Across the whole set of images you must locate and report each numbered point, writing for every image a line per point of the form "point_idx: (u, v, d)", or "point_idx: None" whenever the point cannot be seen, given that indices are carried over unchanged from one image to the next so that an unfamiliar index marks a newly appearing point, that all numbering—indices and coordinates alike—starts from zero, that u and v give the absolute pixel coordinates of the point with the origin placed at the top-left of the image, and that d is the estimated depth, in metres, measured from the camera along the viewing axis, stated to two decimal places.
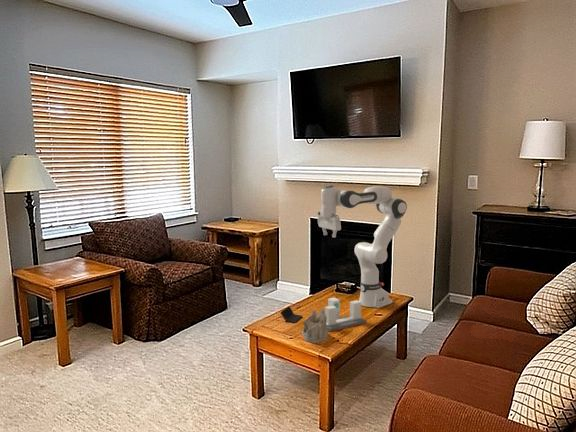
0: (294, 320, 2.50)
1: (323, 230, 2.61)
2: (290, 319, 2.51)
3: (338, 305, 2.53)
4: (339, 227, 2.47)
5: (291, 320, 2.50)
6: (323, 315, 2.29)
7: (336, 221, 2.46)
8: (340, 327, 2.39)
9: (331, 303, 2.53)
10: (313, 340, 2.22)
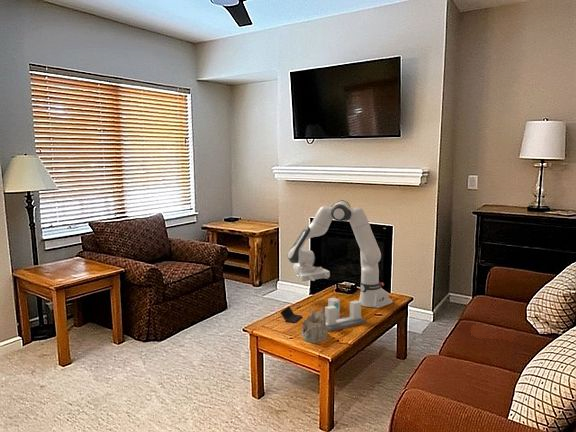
0: (294, 320, 2.50)
1: None
2: (290, 319, 2.51)
3: (338, 305, 2.53)
4: (301, 277, 2.66)
5: (291, 320, 2.50)
6: (322, 315, 2.29)
7: (299, 278, 2.70)
8: (340, 327, 2.39)
9: (331, 303, 2.53)
10: (313, 340, 2.22)
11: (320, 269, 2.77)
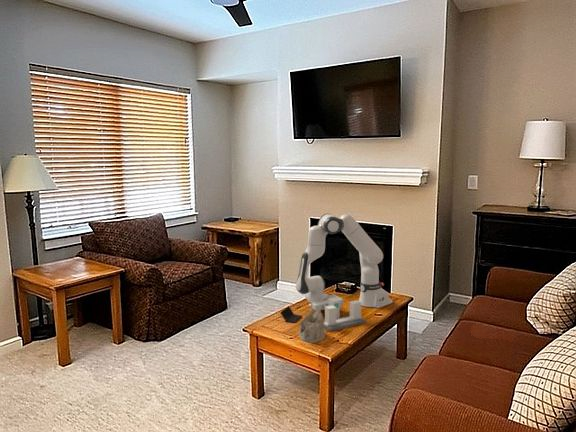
0: (294, 320, 2.50)
1: None
2: (290, 319, 2.51)
3: (338, 305, 2.53)
4: (314, 306, 2.55)
5: (291, 320, 2.50)
6: (320, 315, 2.29)
7: None
8: (340, 327, 2.39)
9: (331, 303, 2.53)
10: (311, 340, 2.22)
11: (333, 297, 2.66)
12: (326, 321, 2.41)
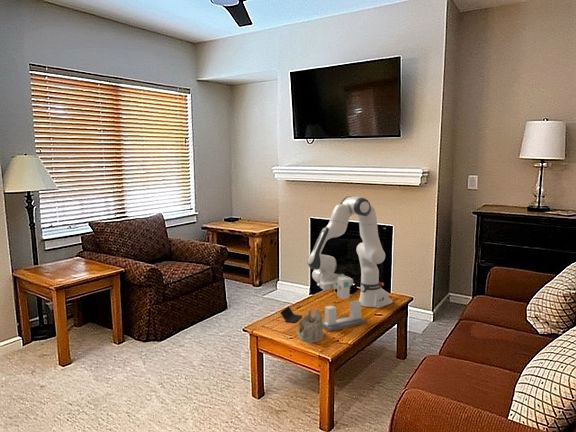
0: (294, 320, 2.50)
1: None
2: (290, 319, 2.51)
3: (348, 284, 2.40)
4: (322, 285, 2.43)
5: (291, 320, 2.50)
6: (319, 315, 2.29)
7: (320, 287, 2.46)
8: (340, 327, 2.39)
9: (341, 282, 2.40)
10: (309, 340, 2.22)
11: (342, 276, 2.54)
12: (326, 321, 2.41)
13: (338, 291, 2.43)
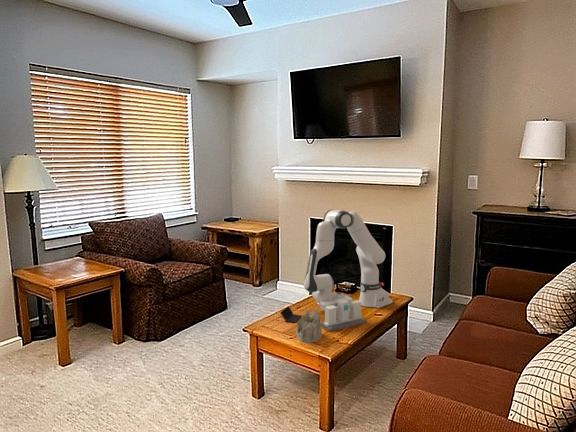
0: (294, 320, 2.50)
1: None
2: (290, 319, 2.51)
3: (348, 307, 2.42)
4: (322, 306, 2.44)
5: (291, 320, 2.50)
6: (317, 315, 2.29)
7: (320, 307, 2.48)
8: (340, 327, 2.39)
9: (340, 305, 2.42)
10: (308, 339, 2.22)
11: (342, 296, 2.56)
12: (326, 321, 2.41)
13: (338, 314, 2.45)
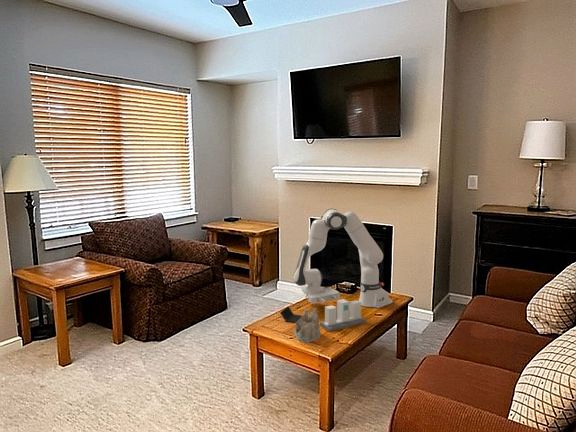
0: (294, 320, 2.50)
1: None
2: (290, 319, 2.51)
3: (348, 307, 2.42)
4: (310, 299, 2.56)
5: (291, 320, 2.50)
6: (315, 315, 2.30)
7: (308, 299, 2.60)
8: (340, 327, 2.39)
9: (340, 305, 2.42)
10: (306, 339, 2.23)
11: (329, 290, 2.67)
12: (326, 321, 2.41)
13: (338, 314, 2.45)
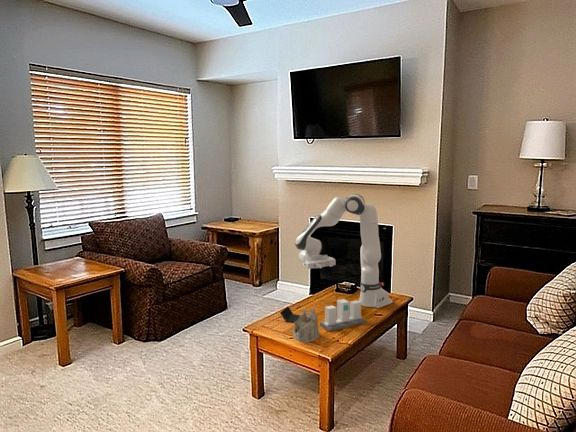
0: (294, 320, 2.50)
1: (330, 265, 2.68)
2: (290, 319, 2.51)
3: (348, 307, 2.42)
4: (307, 264, 2.65)
5: (291, 320, 2.50)
6: (314, 314, 2.30)
7: (305, 266, 2.68)
8: (340, 327, 2.39)
9: (340, 305, 2.42)
10: (305, 339, 2.23)
11: (326, 257, 2.76)
12: (326, 321, 2.41)
13: (338, 314, 2.45)
